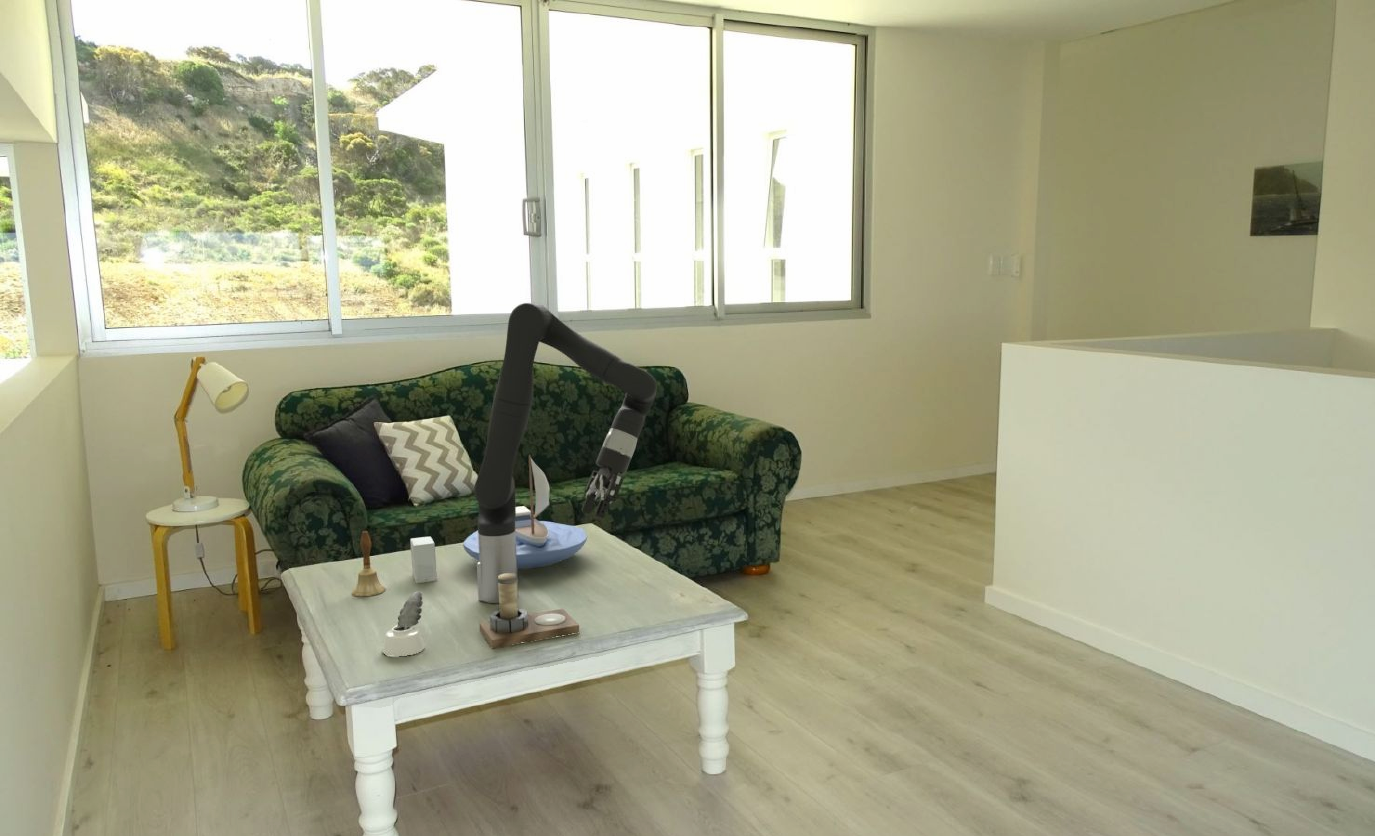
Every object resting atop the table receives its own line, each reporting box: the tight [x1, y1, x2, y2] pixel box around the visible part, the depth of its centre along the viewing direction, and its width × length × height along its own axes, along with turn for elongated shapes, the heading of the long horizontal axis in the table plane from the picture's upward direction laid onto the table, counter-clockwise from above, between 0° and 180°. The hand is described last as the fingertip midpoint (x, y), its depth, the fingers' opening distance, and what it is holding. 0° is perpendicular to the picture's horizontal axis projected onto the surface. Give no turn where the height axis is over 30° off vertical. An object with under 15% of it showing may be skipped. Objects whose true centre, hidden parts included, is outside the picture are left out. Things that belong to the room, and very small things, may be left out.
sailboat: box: [462, 454, 588, 570], centre depth 276 cm, size 34×35×32 cm
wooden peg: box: [498, 573, 519, 619], centre depth 221 cm, size 4×4×12 cm
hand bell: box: [351, 530, 386, 597], centre depth 254 cm, size 8×8×16 cm
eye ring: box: [489, 608, 529, 634], centre depth 222 cm, size 8×8×3 cm
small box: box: [409, 536, 438, 584], centre depth 265 cm, size 8×6×10 cm
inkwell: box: [381, 590, 426, 657], centre depth 219 cm, size 9×18×10 cm, turn 0°
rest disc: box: [535, 614, 565, 626], centre depth 226 cm, size 7×7×1 cm
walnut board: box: [478, 608, 580, 650], centre depth 224 cm, size 20×12×2 cm, turn 115°
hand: (591, 514), depth 232 cm, fingers open, 8 cm apart
